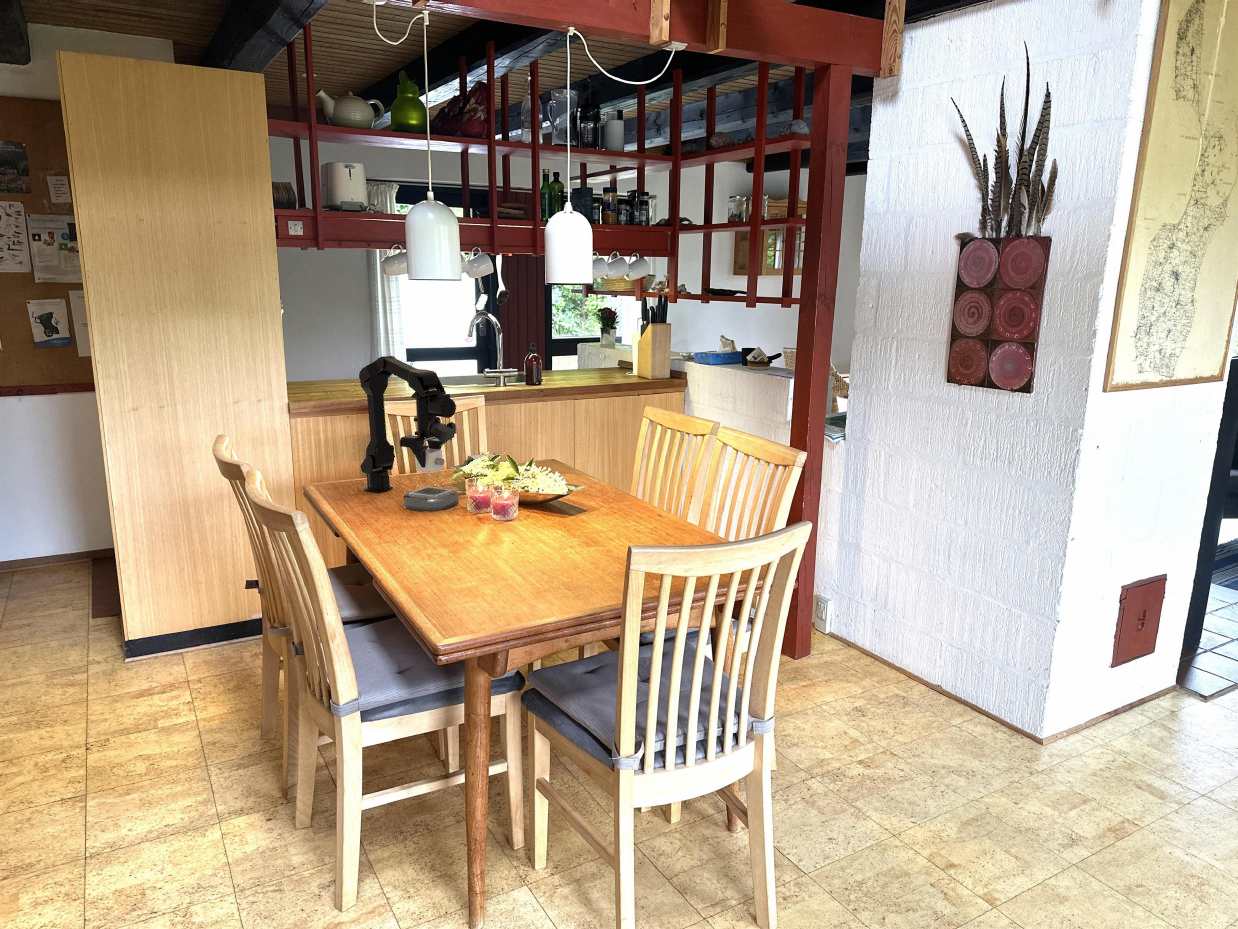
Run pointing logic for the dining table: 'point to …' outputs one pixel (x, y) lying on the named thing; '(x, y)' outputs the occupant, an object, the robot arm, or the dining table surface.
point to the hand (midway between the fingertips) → (429, 465)
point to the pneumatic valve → (476, 457)
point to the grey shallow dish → (431, 499)
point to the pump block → (431, 461)
